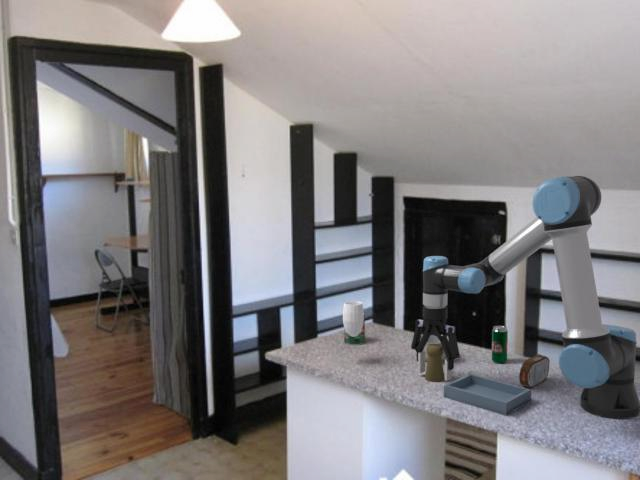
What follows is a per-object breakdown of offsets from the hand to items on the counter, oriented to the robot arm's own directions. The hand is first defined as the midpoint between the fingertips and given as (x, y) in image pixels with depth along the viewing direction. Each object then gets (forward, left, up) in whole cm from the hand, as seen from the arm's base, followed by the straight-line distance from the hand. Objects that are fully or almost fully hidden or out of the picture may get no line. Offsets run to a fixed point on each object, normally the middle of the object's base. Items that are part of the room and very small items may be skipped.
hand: (434, 375), depth 203 cm
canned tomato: (+46, -13, -1) cm, 48 cm away
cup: (+30, +5, -1) cm, 30 cm away
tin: (-25, -17, -1) cm, 30 cm away
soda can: (-6, -29, -1) cm, 30 cm away
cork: (0, 0, -1) cm, 1 cm away
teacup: (+13, -16, -1) cm, 21 cm away
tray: (-21, +4, -1) cm, 21 cm away
